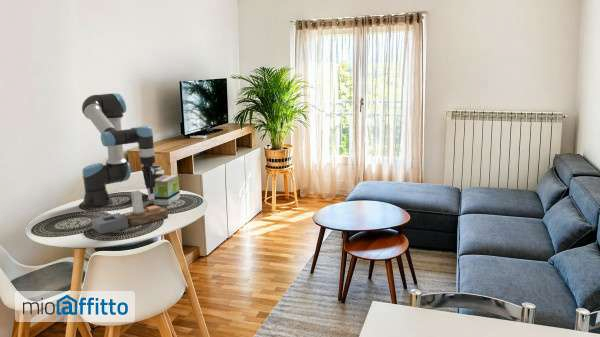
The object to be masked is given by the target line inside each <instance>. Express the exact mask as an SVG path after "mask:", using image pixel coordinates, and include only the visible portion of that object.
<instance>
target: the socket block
mask: <svg viewBox="0 0 600 337" xmlns="http://www.w3.org/2000/svg"><path fill="white" fill-rule="evenodd" d="M157 206H158V207H159V211H155V212H151V213H150V212H148V211H147V209H146V208H143V212H144V214H142V215H138V216H134V215H133V211H130V212H125V213H122V215H123V216H125V217H127V219H128V226H129V227H135V226H140V225H143V224H148V223H151V222H155V221H156V222H157V221H160V220H164V219H167V218H169V212H168V211H169V210H168V209H165V208H164V207H161V205H157Z"/></svg>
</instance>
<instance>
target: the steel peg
mask: <svg viewBox="0 0 600 337" xmlns="http://www.w3.org/2000/svg"><path fill="white" fill-rule="evenodd" d="M130 196H131V207H132V212H133V215H134V216H138V215H142V214H144V212H143V209H144V206H143V204H144V203H143V197H142V191H141V190H131V191H130Z"/></svg>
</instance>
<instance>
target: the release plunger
mask: <svg viewBox="0 0 600 337" xmlns="http://www.w3.org/2000/svg"><path fill="white" fill-rule="evenodd" d="M158 206H159V205H154V204H153V205H151V206H146V208H145V209H147V211H148V212H150V213H151V212H155V211H159V207H158Z"/></svg>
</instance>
